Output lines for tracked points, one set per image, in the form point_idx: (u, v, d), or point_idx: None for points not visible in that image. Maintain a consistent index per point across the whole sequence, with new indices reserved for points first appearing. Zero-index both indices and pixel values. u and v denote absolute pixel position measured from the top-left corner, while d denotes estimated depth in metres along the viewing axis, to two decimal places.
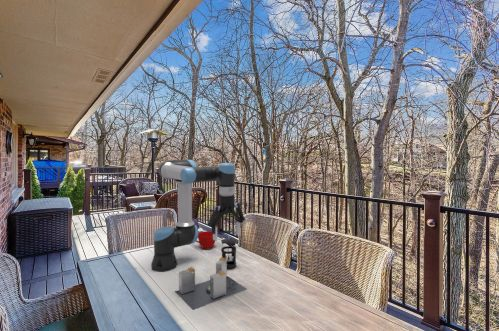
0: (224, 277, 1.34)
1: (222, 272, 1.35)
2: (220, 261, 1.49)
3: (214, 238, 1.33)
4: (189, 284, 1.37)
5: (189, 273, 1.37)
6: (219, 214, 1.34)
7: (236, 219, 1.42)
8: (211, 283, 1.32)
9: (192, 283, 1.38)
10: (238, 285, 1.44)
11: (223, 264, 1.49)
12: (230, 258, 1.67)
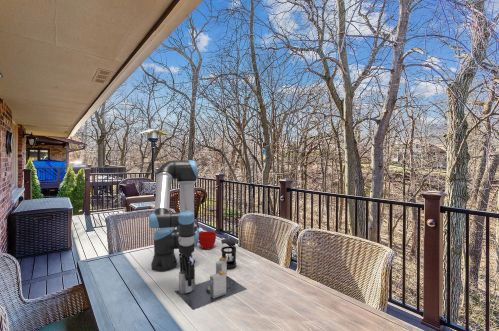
0: (224, 277, 1.34)
1: (222, 272, 1.35)
2: (220, 261, 1.49)
3: None
4: None
5: None
6: None
7: None
8: (211, 283, 1.32)
9: (192, 283, 1.38)
10: (238, 285, 1.44)
11: (223, 264, 1.49)
12: (230, 258, 1.67)
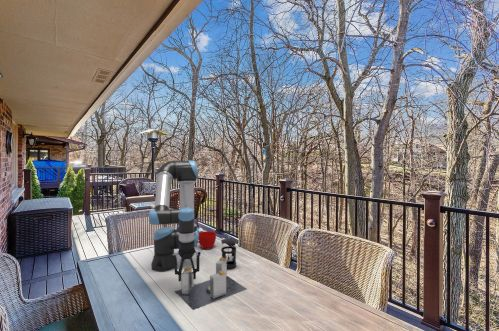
0: (224, 277, 1.34)
1: (222, 272, 1.35)
2: (220, 261, 1.49)
3: (181, 285, 1.38)
4: (190, 282, 1.39)
5: (190, 272, 1.38)
6: (181, 261, 1.37)
7: None
8: (211, 283, 1.32)
9: (191, 281, 1.40)
10: (238, 285, 1.44)
11: (223, 264, 1.49)
12: (230, 258, 1.67)
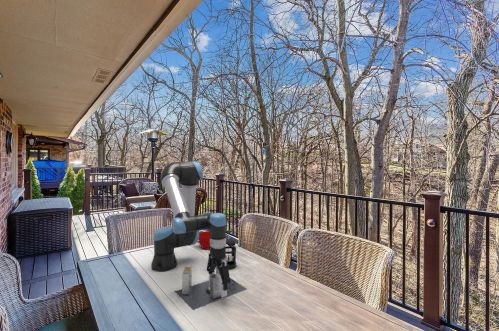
0: None
1: None
2: None
3: None
4: (190, 282, 1.39)
5: (190, 272, 1.38)
6: None
7: None
8: (211, 283, 1.32)
9: (191, 281, 1.40)
10: (238, 285, 1.44)
11: None
12: (230, 258, 1.67)
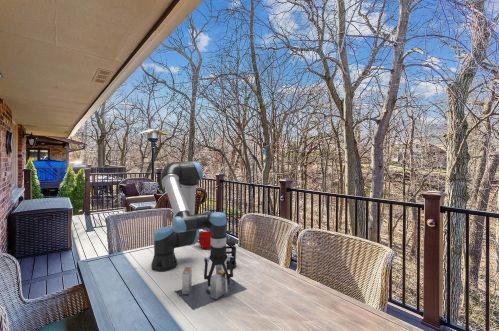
0: (224, 276, 1.35)
1: (221, 272, 1.35)
2: None
3: (210, 290, 1.34)
4: (190, 282, 1.39)
5: (190, 272, 1.38)
6: (211, 266, 1.33)
7: None
8: (212, 284, 1.31)
9: (191, 281, 1.40)
10: (238, 285, 1.44)
11: None
12: None
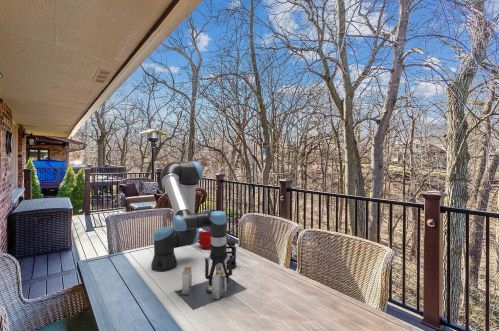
0: (223, 275, 1.36)
1: (219, 271, 1.36)
2: None
3: (211, 289, 1.34)
4: (190, 282, 1.39)
5: (190, 272, 1.38)
6: (212, 265, 1.33)
7: (224, 272, 1.36)
8: (215, 284, 1.30)
9: (191, 281, 1.40)
10: (238, 285, 1.44)
11: None
12: None
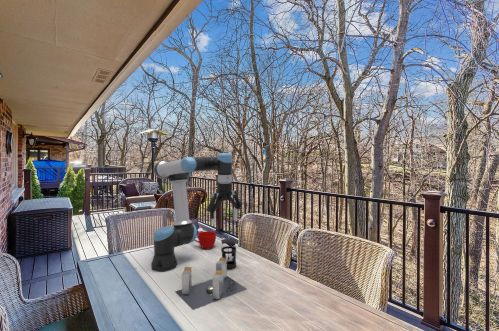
0: (222, 275, 1.36)
1: (219, 271, 1.36)
2: (220, 261, 1.49)
3: (213, 223, 1.43)
4: (190, 282, 1.39)
5: (190, 272, 1.38)
6: (217, 200, 1.44)
7: None
8: (215, 284, 1.30)
9: (191, 281, 1.40)
10: (238, 285, 1.44)
11: (223, 264, 1.49)
12: (230, 258, 1.67)
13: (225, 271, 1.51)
